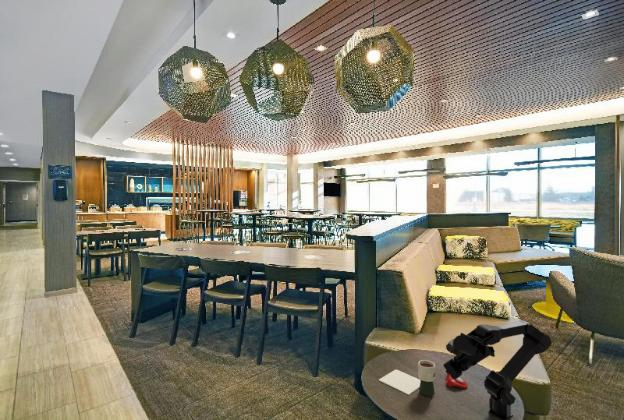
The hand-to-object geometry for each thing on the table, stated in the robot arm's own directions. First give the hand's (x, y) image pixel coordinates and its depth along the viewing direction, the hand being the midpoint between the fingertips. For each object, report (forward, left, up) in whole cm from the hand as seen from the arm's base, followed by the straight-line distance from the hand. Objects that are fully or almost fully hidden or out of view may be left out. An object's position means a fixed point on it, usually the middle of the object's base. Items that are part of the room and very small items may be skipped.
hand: (446, 372), depth 135 cm
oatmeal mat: (+21, +3, -13) cm, 25 cm away
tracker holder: (+7, -17, -13) cm, 22 cm away
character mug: (+9, +1, -13) cm, 16 cm away
